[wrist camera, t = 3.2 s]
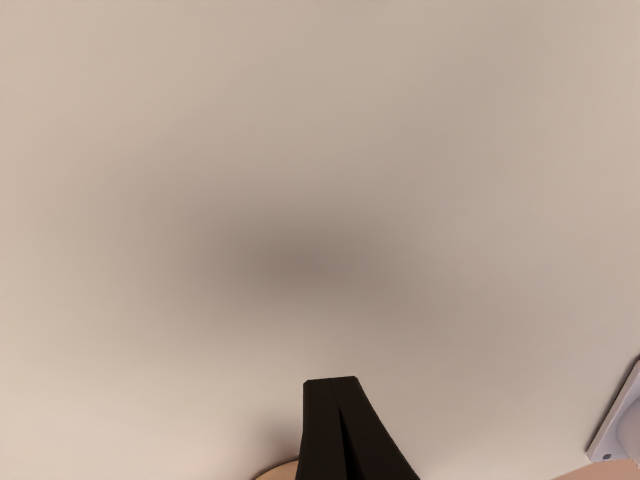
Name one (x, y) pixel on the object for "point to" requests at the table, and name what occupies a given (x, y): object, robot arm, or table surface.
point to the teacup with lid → (281, 472)
